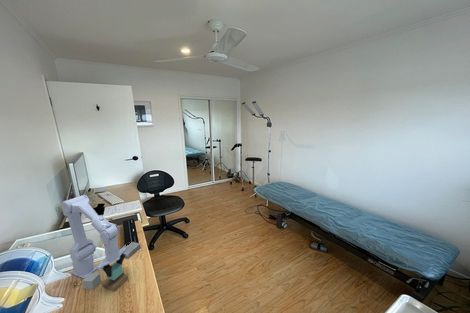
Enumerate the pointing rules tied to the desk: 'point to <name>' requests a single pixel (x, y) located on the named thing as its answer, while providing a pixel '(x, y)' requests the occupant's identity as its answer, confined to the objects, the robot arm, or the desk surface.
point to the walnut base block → (115, 282)
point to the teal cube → (115, 271)
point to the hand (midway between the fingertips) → (114, 272)
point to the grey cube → (91, 281)
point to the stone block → (131, 249)
